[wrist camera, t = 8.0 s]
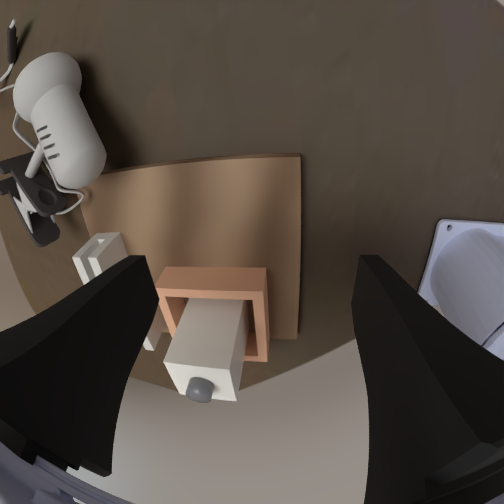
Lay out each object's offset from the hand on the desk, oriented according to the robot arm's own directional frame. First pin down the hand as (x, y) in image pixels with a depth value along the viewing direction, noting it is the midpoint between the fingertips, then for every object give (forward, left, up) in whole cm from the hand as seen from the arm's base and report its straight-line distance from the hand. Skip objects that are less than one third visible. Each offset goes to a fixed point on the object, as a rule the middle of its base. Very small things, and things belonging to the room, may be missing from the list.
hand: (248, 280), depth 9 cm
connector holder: (+4, +9, -9) cm, 14 cm away
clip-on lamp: (+17, -8, -10) cm, 21 cm away
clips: (+11, +7, -8) cm, 16 cm away
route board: (+6, +6, -9) cm, 12 cm away
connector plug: (+4, +10, -8) cm, 13 cm away
